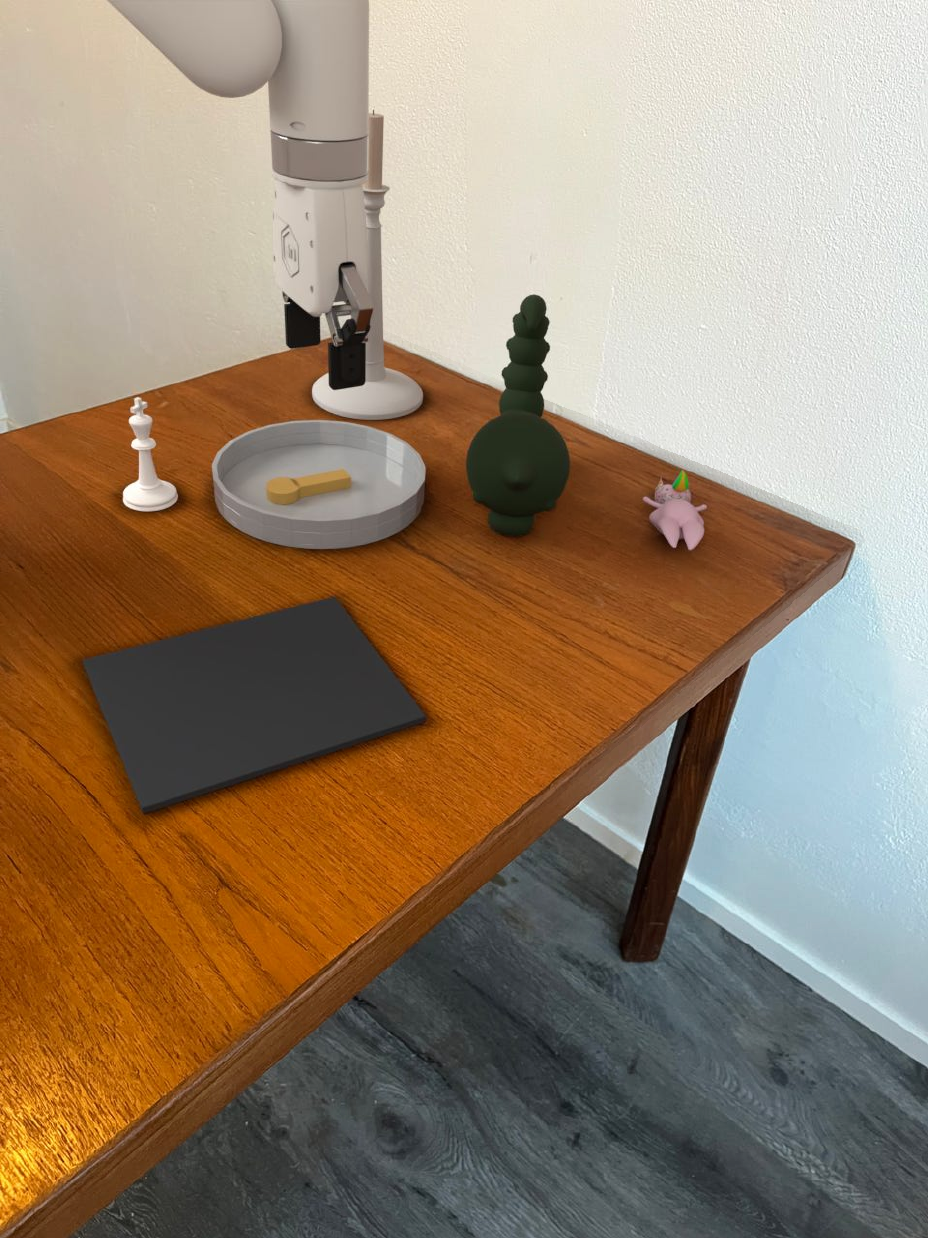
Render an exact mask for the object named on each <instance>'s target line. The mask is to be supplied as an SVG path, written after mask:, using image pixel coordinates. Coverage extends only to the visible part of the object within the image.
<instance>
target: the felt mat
mask: <svg viewBox="0 0 928 1238" xmlns="http://www.w3.org/2000/svg"><path fill="white" fill-rule="evenodd" d="M82 666H83V668H84V671H85V673H86V675H87V678H88V680H89V683H90V685H91V688H92V690H93V693H94V695H95V698H96V700H97V703H98V705H99V708H100V710H101V713H102V716H103V718H104V720H105V723H106V725H107V728H108V730H109V733H110V735H111V738H112V740H113V743H114V745H115V748H116V751H117V753H118V755H119V757H120V760H121V762H122V763H121V764H122V765H123V768H124V770H125V773H126V776H127V777H128V780H129V782H130V786H131V788H132V790H133V793H134V795H135V797H136V800H137V803H138V805H139V808H140V810H141V813H142V814H149V813H151V812H153V811H158V810H161V809H164V808H166V807H170V806H173V805H176V804H178V803H182V802H184V801H187V800H191V799H194V798H197V797H199V796H203V795H206V794H209V793H213V792H215V791H218V790H221V789H224V788H227V787H230V786H233V785H237V784H240V783H243V782H246V781H249V780H253V779H255V778H258V777H261V776H264V775H267V774H270V773H273V772H277V771H280V770H282V769H285V768H289V767H291V766H295V765H298V764H301V763H303V762H304V763H305V762H307V761H310V760H313V759H316V758H320V757H323V756H325V755H328V754H332V753H335V752H338V751H341V750H344V749H347V748H350V747H353V746H357V745H360V744H363V743H365V742H368V741H369V742H370V741H372V740H374V739H378V738H380V737H381V738H382V737H384V736H386V735H389V734H393V733H396V732H400V731H402V730H405V729H409V728H411V727H414V726H417V725H420V724H423V723H426V721H427V715H426V714H425V712H424V711H423V710H422V709H421V707H420V706H419V704H418V703H417V702H416V701H415V700H414V698H413V696H411V694H410V693H409V692H408V690H407V689H406V687H405V686H404V685H403V684H402V682H401V681H400V680H399V678H398V677H397V676H396V674H395V673H394V672H393V670H392V669H391V668H390V667H389V665H388V664H387V663H386V662H385V659H383V657H382V656H381V654H379V652H378V651H377V649H376V648H375V647H374V646H373V644H372V643H371V642H370V641H369V639H368V638H367V636H366V635H365V634H364V632H362V630H361V629H360V628H359V626H358V625H357V624H356V622H355V621H354V620H353V618H352V617H351V615H350V614H349V613H348V612H347V610H346V609H345V608H344V607H343V605H342V604H341V603H340V601H339V600H338V599H337V597H336V596H332V597H326V598H323V599H319V600H316V601H312V602H308V603H304V604H299V605H295V606H291V607H287V608H284V609H280V610H275V611H272V612H268V613H264V614H259V615H256V616H251V617H247V618H244V619H240V620H236V621H232V622H228V623H224V624H220V625H215V626H211V627H208V628H203V629H200V630H196V631H192V632H187V633H184V634H180V635H175V636H172V637H167V638H164V639H159V640H156V641H152V642H147V643H144V644H139V645H136V646H131V647H128V648H124V649H119V650H116V651H113V652H107V653H104V654H99V655H96V656H92V657H88V658H84V659H82Z"/></svg>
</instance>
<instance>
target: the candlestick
mask: <svg viewBox="0 0 928 1238" xmlns="http://www.w3.org/2000/svg"><path fill="white" fill-rule="evenodd" d="M384 117H385V116H384V115H383V114H380V113H375V109H373V110H372V113H370V112H369V115H368V181H367V182H366V183H364V184H362V186H363V193H364V203H365V214H366V228H367V246H368V294H369V296H370V298H371V300H372V303H373V313H372V316H371V320H370V326H371V328H370V331H369V333H368V342H367V343H366V381H365V384H364V385H363V386H358V387H352V388H346V389H340V390H333V389H332V388H331V387H330V386H329V372H327V373H325V374H324V375H322V376H321V377H319V378H318V379H317V380H316V381H315V382H314V383H313V385H312V388H311V397H312V399H313V401H314V403H315V404H316V405H317V406H318V407H319V408H321V409H323V410H324V411H326V412H327V413H331V414H333V415H336V416H340V417H344V418H349V419H353V420H354V419H355V420H361V421H362V420H363V421H364V420H365V421H383V420H390V419H391V420H392V419H396V418H401V417H404V416H407V415H409V414H412V413H414V412H415V411H417V410H418V409H419V408H420V407H421V405H422V404H423V400H424V392H423V389H422V387H421V386H420V385H419V384H418V383H417V382H416V381H415V380H414V379H413V378H411V377H410V376H408V375H406V374H404V373H403V372H401V371H399V370H395V369H392V368H388V367H385V353H384V351H385V350H384V314H383V313H384V312H383V311H384V310H383V309H384V307H383V269H382V268H383V267H382V265H383V264H382V224H381V221H380V215H381V209H382V208H383V207H384V206H385V205H386V202H385V195H386V193H388V191H390V190H391V188H390V187H389V185H386V184H383V159H384V121H385V120H384V119H385V118H384Z"/></svg>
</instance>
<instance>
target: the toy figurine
mask: <svg viewBox="0 0 928 1238" xmlns="http://www.w3.org/2000/svg"><path fill="white" fill-rule="evenodd" d="M547 309H548V308H547V302H546V301H545V299H544V298H543V297H542V296H540V295H539V294H535V293H534V294H529V295H527V296H526V297H525V298H523V300H522V301H521V304H520V306H519V312H518V313H515V314H514V315H513V317H512V327H513V332H514V335H513V336H512V337H510V338H508V339H507V341H506V344H505V347H506V350H508V357H509V360H510V362H509V363H508V365H507V366H505V367H503V368H502V370H501V377H502V379H503V382H504V387H505V389H504V390H503V391H502V393H501V394H500V396H499V397H500V398H499V401H498V411H499V415H498V416H496V417H493V418H492V419H490V420H489V421H488V422H486V423H485V424H483V425H482V426H481V428H479V430H478V431H477V432H476V433H475V434H474V436H473V438H472V440H471V442H470V444H469V446H468V449H467V453H466V457H465V458H466V459H465V470H466V477H467V482H468V484H469V488H470V490H471V492H472V499H473V500H474V501H475V503H477V504H479V505H483V506H484V507H486V508H487V509H489V512H488V514H487V515H488V516H487V523H488V526H489V528H490V529H491V530H492V531H493V532H494V533H496V534H499V535H502V536H506V537H522V536H525V535H527V534H529V533H531V531H532V530H533V528H534V525H535V515H538V514H540V513H542V512H544V511H545V512H550V511H552V510H554V509H555V508H556V506H557V502H558V500H559V498H560V497H561V495H562V494H563V492H564V491H565V488H566V485H567V482H568V480H569V476H570V471H571V459H570V452H569V448H568V446H567V443H566V441H565V439H564V437H563V436H562V434H561V433H560V432H559V430H558V429H557V428H556V427H555V426H554V425H553V424H551V422H549V421H548V420H547V419H545V418H543V414H544V411H545V399H544V396H543V393H542V390H543V389H544V387H545V383H546V382H547V381H548V378H549V374H548V373H547V371H546V370H545V368H544V366H543V364H544V363H545V361H546V358H547V355H548V354H549V352H550V350H551V345H550V343H549V342H548V341H547V340H546V338H545V337H546V336H547V333H548V330H549V326H550V323H551V322H550V318H549V317H548V316H547V315H546V314H547Z"/></svg>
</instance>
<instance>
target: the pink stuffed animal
mask: <svg viewBox="0 0 928 1238" xmlns="http://www.w3.org/2000/svg"><path fill="white" fill-rule="evenodd" d="M689 487H690V486H689V479H688V474H687V473H686V471H685V470H681V471H680V472H679V474H678V476H677V477H676V479H675V480H674V481H673V483H672V484H667V483H666V484H664V481H663V480H662V477H660V478H659V482H658V484H657V485H656V487H655V489H654V490H653V491H654V500H653V499H651V498H649V497H648V496H643V497H642V501H643V503H646V504H648V505H650V506H652V507H653V508H655V510H653V511H652V512H651V513H650V514H649V515H648V516H649V517H648V520H649V522H650V523H651V524H652V525H653V526H654V527H655V528H656V530H658V532H659V533H661V534H662V535H663V536H664V537H665V538H666V541H667V543H668V545H670V547H671V548H673V549H676V548H677V545H678V542H679V540H684V541H685V543H686V547H687V549H688V551H693V550H694V549H695V548H696V547H697V546H698V545H699V543H700V542H701V540H702V539H703V537H704V535H705V527H704V525H705V522H704V519H703V517H702V516H701V515H700V513H699V512H702V511H705V510H707V509H708V506H707V505H706V504H700V505H698V506H695V505H693V503H691V501H692V494H691V491H690V489H689Z"/></svg>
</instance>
